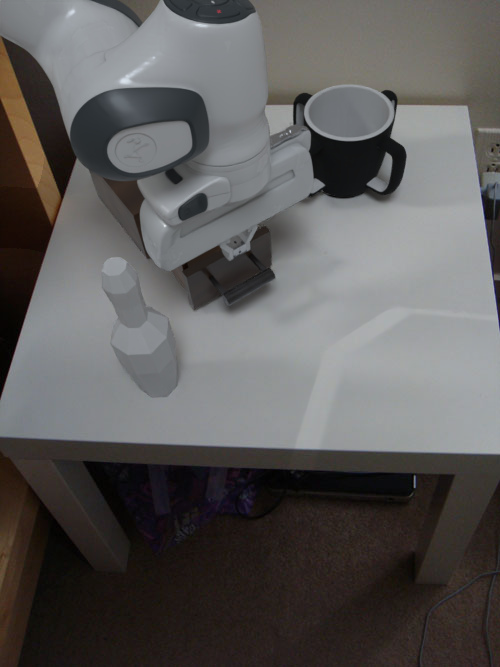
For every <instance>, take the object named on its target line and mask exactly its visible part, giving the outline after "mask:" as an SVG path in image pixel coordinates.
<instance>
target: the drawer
mask: <svg viewBox="0 0 500 667" xmlns="http://www.w3.org/2000/svg"><path fill="white" fill-rule="evenodd" d="M272 266H273V257H272V238H271V229H269V228H268V227H267V225H263V226H261V227H259V228H257V230H256V232H255V234H254V235H253V237H252V239H251V241H250V250H249V251H247V252H245V253H243V254H242V255H240V256H238V257H236V258H234V259H233V260H231V261H229V260H228V259H227V258H226V257H225V256H224V255H223V253H222V249H221V248H220V247H219V246H216V247H214V248H212V249H210V250H208V251H207V252H205V253H203V254H201V255H199V256H197V257H195V258H194V259H192V260H190V261H188V262H186V263H184V264H182V265H181V266H179V267H177V268H175V269H173V270H171V271H170V272H171V273H172V274H173V275H174V277H175V278H176V279H177V281H178V282H179V283H180V284H181V286H182V287H183V288H184V290H186V295H187V298H188V302H189V305H190V307H191V308H192V309H193V310H197V309H199V308H201V307H202V306H204V305H205V304H208V303H209V302H211V301H213V300H215V299H216V298H218V297H220V296H221V298H222V301H223V302H224V304H225V305H226V306H227V307H229V306H231V305H233V304H235V303H236V302H238V301H240V300H241V299H243V298H245V297H247V296H249V295H250V294H252V293H253V292H255V291H257V290H260V289H261V288H262V287H264V286H265V285H267V284H270V283H271V282H273V281H274V280H275V279H276V274H275V272H274V270H273V269H272V268H271V267H272Z"/></svg>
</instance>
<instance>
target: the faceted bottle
mask: <svg viewBox="0 0 500 667" xmlns="http://www.w3.org/2000/svg"><path fill="white" fill-rule="evenodd" d="M134 268H135V267H133V266H132V265H131V264H130V263H129V262H128V261H127V260H125V259H124V258H122V257H121V256H113V257H109V258H108V259H107V260H106V261H104V262H103V263H102V268H101V289H102V291H103V292H104V293H105V295H106V297H107V298H108V300H109V302H110V303H111V305H112V307H113V309H114V311H115V313H116V316H117V319H116V320H115V321H114V322H113V323H112V327H111V328H112V329H111V334H110V335H111V336H110V343H109V344H110V346H111V348H112V350H113V352H114V354H115V356H116V358H117V361H118V362H119V364H120V366H121V367H122V368H123V370H125V371H126V373H127V374H128V375H129V376H130V378H131V379H132V381H134V383H135V384H136V385H137V387H138V388H139V389H140V390H141V391H142V392H144V393H145V394H146V395H148V396H149V397H150V398H167V397H168V396H169V395H170V394H171V393H172V392H173V391H174V390H175V389H176V388H177V387H178V379H179V378H178V377H179V368H178V358H177V348H176V338H175V335H174V331H173V328H172V324H171V322H170V319H169V317H167V316H166V315H164V314H163V313H161V312H160V311H158V310H156V309H155V308H153V307H152V306H147V304H146V302H145V299H144V296H143V293H142V288H141V283H140V277H139V273H138V272H137V270H135V269H134Z"/></svg>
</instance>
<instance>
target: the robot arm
mask: <svg viewBox="0 0 500 667" xmlns="http://www.w3.org/2000/svg"><path fill="white" fill-rule="evenodd" d="M0 37H2V38H4V39H6V40H8V41H9V42H12V43H14V44H15V45H16V46H19V47H20V48H22V49H24V50H25V51H26V52H28V54H30V55H31V56H32V57H33V58H34V59H35V60H36V62H37V63H38V64H39V65H40V67H41V69H42V70H43V72H44V73H45V75H46V76H47V78H48V79H49V81H50V83H51V85H52V88H53V91H54V93H55V97H56V100H57V103H58V106H59V109H60V114H61V117H62V121H63V124H64V127H65V130H66V133H67V137H68V139H69V141H70V145H71V149H72V151H73V153H74V155H75V157H76V159H77V160H78V162H80V164H81V165H82V166H84V167H85V168H86V169H87V170H88V171H89V170H90V171H91V172H93V173H95V174H97V175H99V176H101V177H104V178H107V179H111V180H116V181H135V180H137V184H138V187H139V189H140V191H141V193H142V195H143V196H144V198H145V199H144V201H143V203H142V205H141V208H140V223H141V231H142V236H143V241H144V245H145V248H146V251H147V253H148V254H149V256H150V258H151V260H152V262H153V263H154V264H155V265H156V266H157V268H159V269H160V270H162V271H165V272H171V270H173V269H175V268H177V267H179V266H181V265H182V264H184V263H186V262H188V261H190V260H192V259H194V258H195V257H197V256H199V255H201V254H203V253H205V252H207V251H208V250H210V249H212V248H214V247H216V246H219V247H220V248H221V249H222V253H223V255H224V256H225V257H226V258H227V259H228V260H229V261H231V260H233V259H234V258H236V257H238V256H240V255H242V254H243V253H245V252H247V251H249V250H250V241H251V239H252V237H253V235H254V234H255V232H256V230H258V229H259V228H258V227H259V224H260V223H262V222H264V221H266V220H267V219H269V218H272V217H273V216H275V215H277V214H279V213H281V212H283V211H285V210H286V209H288V208H290V207H291V206H293V205H296V204H298V203H299V202H301V201H303V200H305V199H306V198H309V197H308V196H309V194H310V193H311V191H312V189H313V187H314V176H313V166H312V160H311V156H310V153H309V149H310V145H311V133H310V131H309V129H308V128H307V127H305V126H299V125H297V124H295V125H293V124H292V125H290V126H288V127H286V128H285V129H284V130H282V131H279V132H276V133H273V134H272V135H271V129H270V123H269V120H268V117H267V114H266V106H267V103H268V99H269V94H270V93H269V92H270V91H269V90H270V89H269V88H270V87H269V72H268V70H269V69H268V59H267V50H266V43H265V42H266V41H265V35H264V30H263V25H262V22H261V17H260V16H259V13H258V10H257V9H256V7H255V6H254V5H253V3H252V2H251V1H250V0H159V2H158V4H157V5H156V7H155V8H154V9H153V11H152V12H151V14H150V15H149V16H148V17H147V18H146V19H145V20H144V22H143V21H142V19H141V18H140V17H139V15H137V14H136V12H135V11H134V10H133V9H132V8H130V6H128V5H127V4H126V3H124V2H122V1H121V0H0Z"/></svg>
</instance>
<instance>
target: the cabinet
mask: <svg viewBox="0 0 500 667" xmlns="http://www.w3.org/2000/svg"><path fill="white" fill-rule="evenodd" d="M88 173H89V175H90V178H91V181H92V183H93V185H94V188H95V191H96V193H97V196H98V199H100V201H101V202H102V204H104V206H105V207H106V208H107V210H108V211H109V212H110V213H111V215H112V216H113V218H114V219H115V220H116V221H117V222H118V224H119V225H120V226H121V227H122V229H123V230H124V231H125V233H126V234H127V235H128V237H129V238H130V239H131V241H132V242H133V243H134V244H135V245H136V247H137V248H138V250H139V251H140V252H141V253H142V255H143V256H144V257H145V258H146V260H148V259H150V258H151V257H150V256H149V254H148V253H147V251H146V248H145V245H144V241H143V236H142V231H141V223H140V208H141V205H142V203H143V201H144V199H145V198H144V196H143V195H142V193H141V191H140V189H139V187H138V184H137V180H135V181H116V180H111V179H107V178H104V177H101V176H99V175H97V174H95V173H93V172H91V171H90V170H88Z"/></svg>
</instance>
